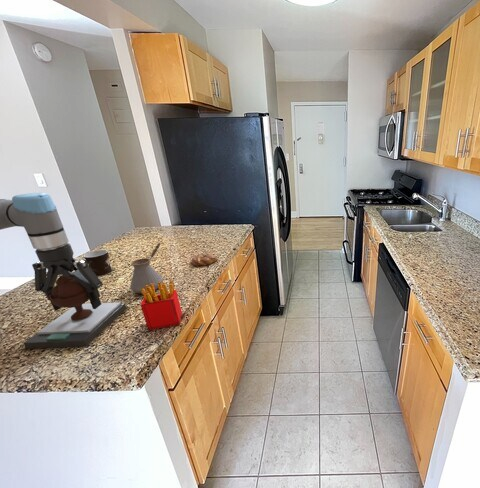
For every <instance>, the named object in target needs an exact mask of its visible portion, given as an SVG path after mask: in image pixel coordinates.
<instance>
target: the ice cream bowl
mask: <svg viewBox="0 0 480 488" xmlns="http://www.w3.org/2000/svg"><path fill="white" fill-rule="evenodd" d="M91 287H92V286H91ZM87 291H89V290H87V289H86V288H85V287H84V286H82V285H81V284H80V283H79V282H77V281H76V280H75V279H74V278H72V277H69V276H67V275H59V276H58V277H57V280H56V282H55V285H54V288H53V289H52V291H51V294H50V295H49V296H48V298H49V300H50V301H51V302H50V301H49V300H48V301H49V302H50V304H51V303H52V304H54V305H55V306H58V307H62V308H69V309H71V308H73V307H74V308H75V309H76V312H75V313H74V314H73V315H72V316H71V319H72V320H80V319H84V318H86V317H88V316H90V315H91V314H92V311H91V309H83V307H82V304H86V303H87V302H88V301H90V300H89V298H88V295H87V293H86V292H87ZM52 304H51V305H52Z"/></svg>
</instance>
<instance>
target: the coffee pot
mask: <svg viewBox="0 0 480 488" xmlns="http://www.w3.org/2000/svg"><path fill="white" fill-rule="evenodd" d="M161 246H164V244H163V243H160V242H158V243H157V244H156V245H155V248H154V249H153V251H152V252H151V254H150V257H149V258H148V257H147V258H146V257H145V258H144V257H143V258H138V259H135V260H133V261H131V263H130V265H131V266H133V273H132V277H131V282H130V285H129V288H130V291H132V292H133V293H137V294H141V295H143V293H142V292H141V289H145V291H146V288H145V286H146V285H148V286H149V287H151V286H150V284H154V288H155V291H157V290H159V288H158V282H161V284H164V278H163V277H162V276H161V274H160V273H158V272H157V271H156V269H154V267H153V266H152V265H151V261H152V259H153V258H154V256H155V255H156V253H157V252H158V249H159V248H160V247H161Z"/></svg>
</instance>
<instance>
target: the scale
mask: <svg viewBox="0 0 480 488" xmlns="http://www.w3.org/2000/svg"><path fill="white" fill-rule="evenodd" d="M82 307H83V309H91V311H92V314H91V315H90V316H88V317H86V318H84V319H80V320H72V319H71V316H72V315H73V314H74V313H75V312H76V309H75V308H74V307H73V308H69V309H67V310H66V311H65V312H64V313H62V314H61V315H59V316H58V317H56V318H55V319H53V321H51V322H49V323H48V324H47V325H46V326H44V327H43V328H41V329H40V330H39V331H37V332H36V333H34V335H32V336H31V337H30V338H28V339H26V340H25V341H23V342H22V344H23V346H24V347H25V349H26V350H33V349H36V350H37V349H38V350H39V349H55V348H57V349H58V348H77V347H88V345H90V344H91V343H92V342H93V341H94V340H95V339H96V338H97V337H98V336H100V334H102V332H103V331H104V330H105V329H107V328H108V327H109V326H110V325H111V324H112V323H113V322H114V321H115V320H116V319H117V318H118V317H120V316H121V314H123V313H124V312H125V311H126V310H127V305H126V303H124V302H122V303H121V301H118V302H114V301H113V302H101V305H100V306H99V307H98V308H96V309H93V307H92V305H91V303H87V302H86V303H84V304H82Z"/></svg>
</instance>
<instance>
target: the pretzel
mask: <svg viewBox="0 0 480 488" xmlns="http://www.w3.org/2000/svg"><path fill="white" fill-rule="evenodd" d="M217 260H218V258H217V257H216V256H215V255H214V254H210V253H199V254H196V255H194V256H192V258H191V264H193V266H195V267H202V266H209V265H211V264H214V263H216V262H217Z"/></svg>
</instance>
